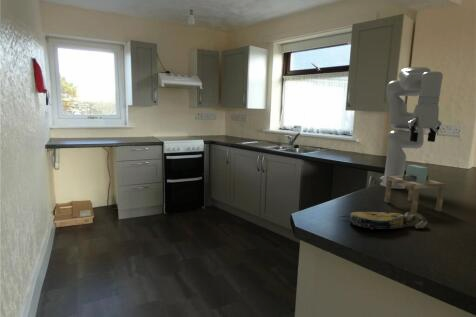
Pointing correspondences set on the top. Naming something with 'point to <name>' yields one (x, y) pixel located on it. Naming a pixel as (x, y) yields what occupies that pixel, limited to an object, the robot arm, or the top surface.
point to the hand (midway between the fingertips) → (422, 141)
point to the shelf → (415, 189)
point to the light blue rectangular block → (417, 173)
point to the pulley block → (386, 220)
